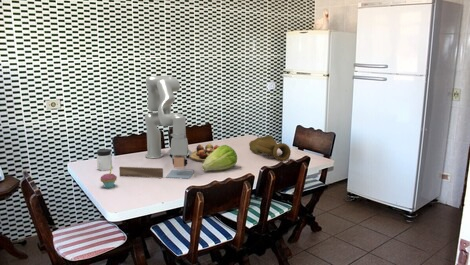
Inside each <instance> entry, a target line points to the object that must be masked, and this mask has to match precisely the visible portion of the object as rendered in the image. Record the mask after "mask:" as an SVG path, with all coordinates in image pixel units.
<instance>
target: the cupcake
mask: <svg viewBox="0 0 470 265" xmlns="http://www.w3.org/2000/svg"><path fill="white" fill-rule="evenodd" d="M112 168H113V164H112V165H111V167H110V171H109V173H105V174H102V175H101V176H100V178H99V180H100V182H101V183H102V184H103V186H104V188H106V189H107V188H108V189H109V188H113V187H114V186H115V183H116V181H117V178H118V177H117V175H116V174H114V173H112V171H113V170H112Z"/></svg>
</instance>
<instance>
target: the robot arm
mask: <svg viewBox="0 0 470 265" xmlns="http://www.w3.org/2000/svg"><path fill="white" fill-rule="evenodd" d="M180 85H181V84H180V81H179V80H178V78H176V77H175V76H171V75H152V76H150V75H149V76H148V77H146V80H145V86H146V88H147V109H148V110H149V112H148V113H146V114H145V115H144V121H145V123H144V124H145V126H146V129H145V130H146V143H147V144H146V146H147V148H146V149H147V153H146V154H145V155H144V156H145V158H147V159H160V158H163V157H164V153H162V141H161V138H162V134H161V130H160V129H159V128H158V127H159V126H162V127H172V133H170V137H172V138H171V141H170V149H169V150H168V151H167V152H166V154H167V155H168V156H169V157H170V158H171V159H172V165H173V167H174V157H175V156H176V155H182V156H184V158H185V160H184V166H185V167H186V166H187V165H188V158H189V157H190V156H191V155H192V154H193V153H192V151H191V150H190V148H189V143H188V142H189V141H188V138H187V134H186V133H187V132H186V131H187V130H186V126H187V124H186V116H185V115H183V114H182V113H177V112H176V113H171V110H172V104H173V103H174V102H175V101H176V98H175V94H174V92H179V91H180V88H181V86H180ZM189 159H190V158H189Z"/></svg>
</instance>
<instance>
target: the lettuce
mask: <svg viewBox="0 0 470 265" xmlns="http://www.w3.org/2000/svg"><path fill="white" fill-rule="evenodd" d="M237 162H238V155H237V153H236V151H235V149H234V148H232V147H231V146H229V145H228V144H223V145H221V146H220V147H218V148H217V149H215V150H214V151H213V152H212V153H211V154H210V155H209V156H208V157H207V158H206V160H205V161H204V162H202V165H201V168H202V170H204V171H224V170H229V169H230V168H232V167H234V166H235V165H236V164H237Z"/></svg>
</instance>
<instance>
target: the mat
mask: <svg viewBox="0 0 470 265" xmlns="http://www.w3.org/2000/svg"><path fill="white" fill-rule="evenodd" d="M194 172H195V170H188V169H187V170H186V169H185V170H179V169H171V170H170V171H169V173H168V174H167V175H166V176H165V179H180V178H182V179H183V180H189V179H191V177H192V176H193V173H194ZM182 179H181V180H182Z"/></svg>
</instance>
